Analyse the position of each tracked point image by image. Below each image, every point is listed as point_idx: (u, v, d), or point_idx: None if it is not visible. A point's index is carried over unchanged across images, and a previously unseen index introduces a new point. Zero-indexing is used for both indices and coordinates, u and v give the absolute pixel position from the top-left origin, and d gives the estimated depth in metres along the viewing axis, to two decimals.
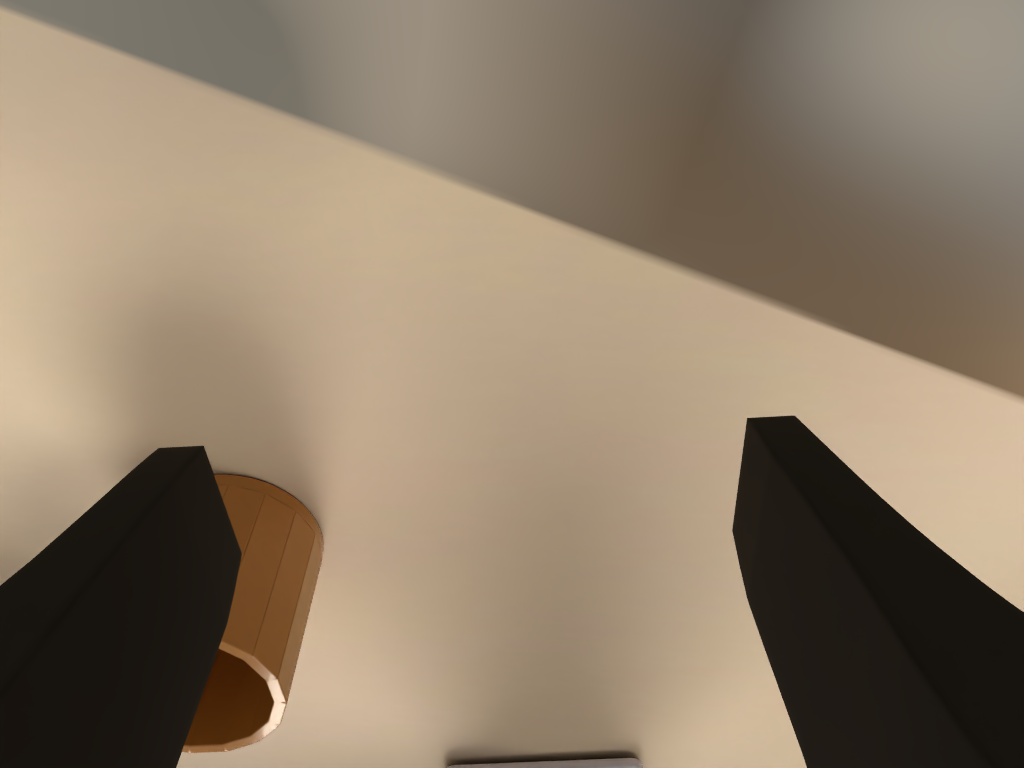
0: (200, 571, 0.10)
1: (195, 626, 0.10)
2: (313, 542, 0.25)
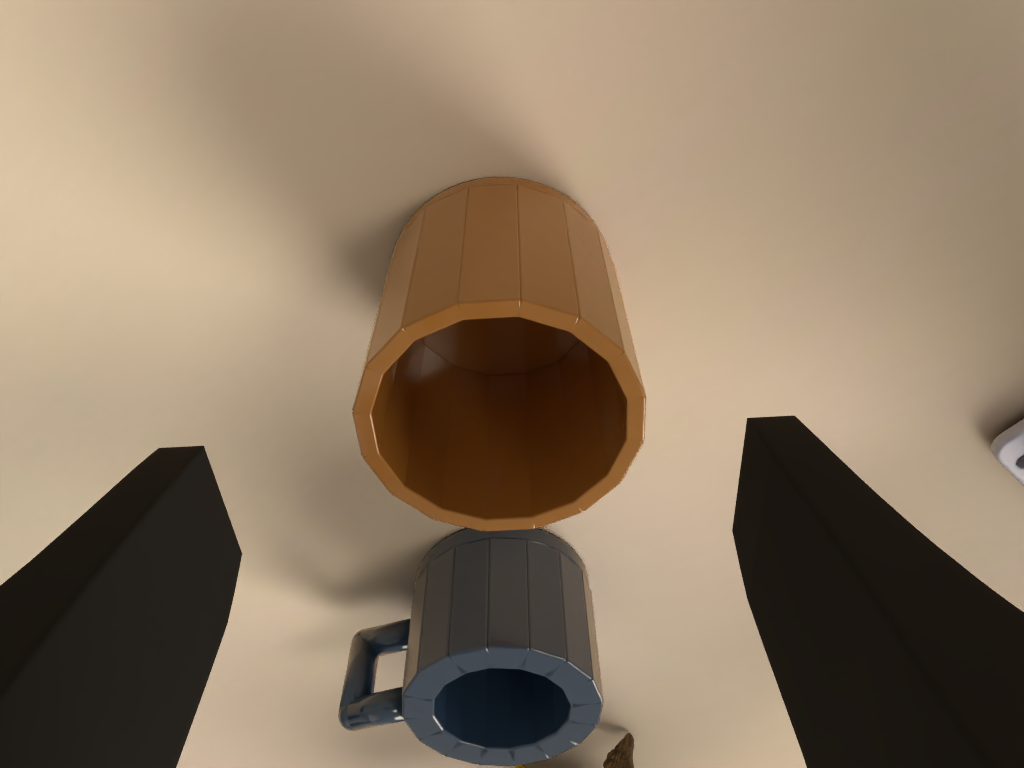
0: (200, 570, 0.10)
1: (195, 626, 0.10)
2: (565, 206, 0.18)
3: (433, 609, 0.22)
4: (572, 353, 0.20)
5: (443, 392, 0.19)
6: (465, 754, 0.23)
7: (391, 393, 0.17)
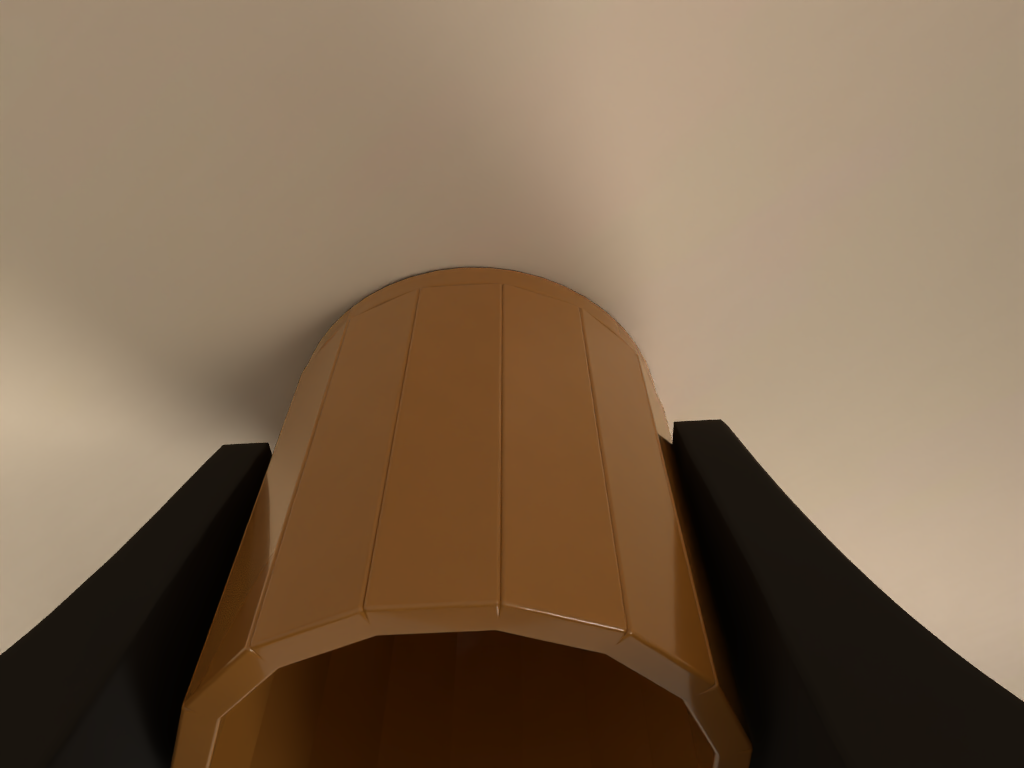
0: None
1: None
2: (585, 322, 0.10)
3: None
4: None
5: None
6: None
7: None
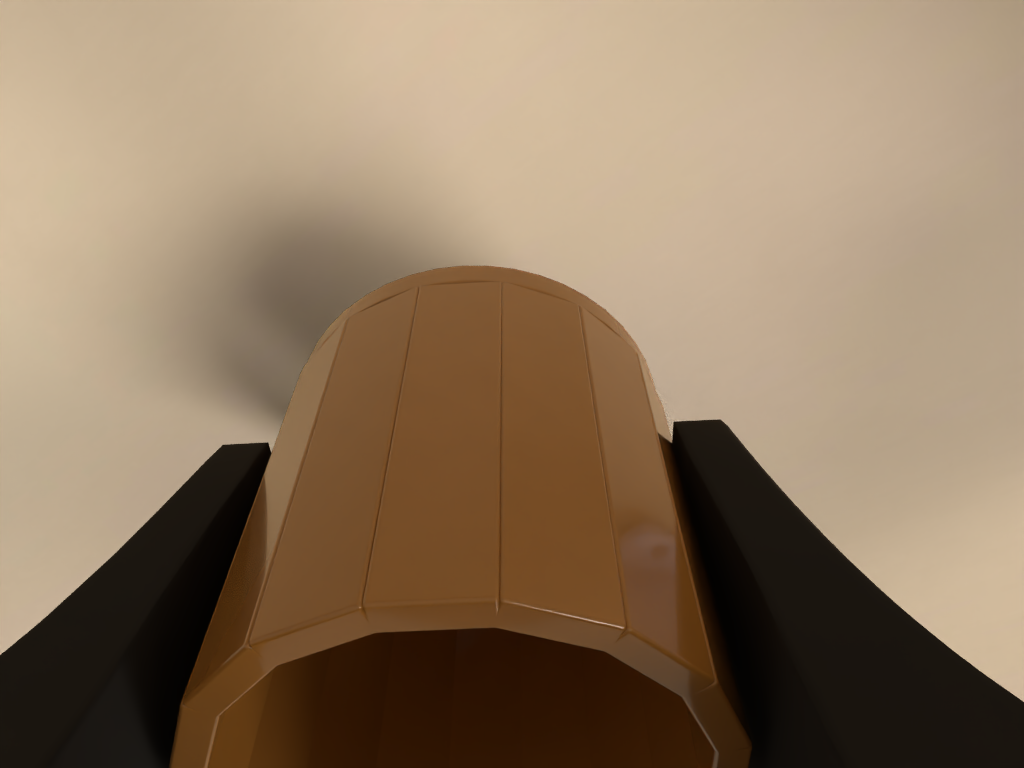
0: None
1: None
2: (584, 319, 0.10)
3: None
4: None
5: None
6: None
7: None
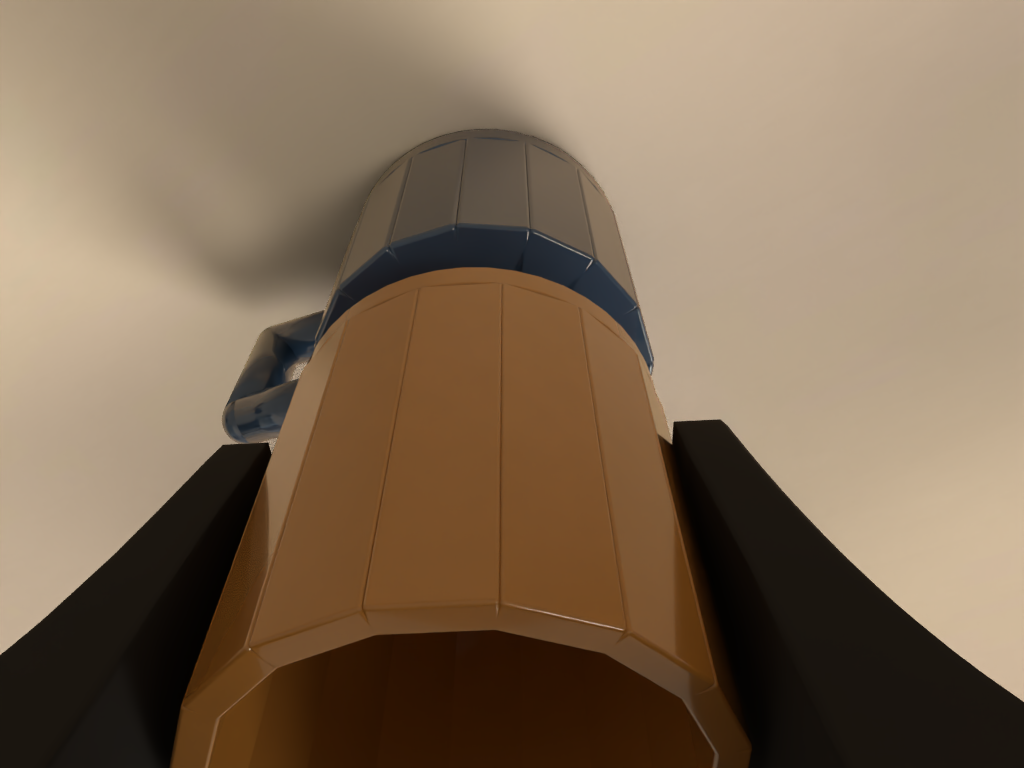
0: None
1: None
2: (584, 321, 0.10)
3: (371, 222, 0.14)
4: None
5: None
6: None
7: None
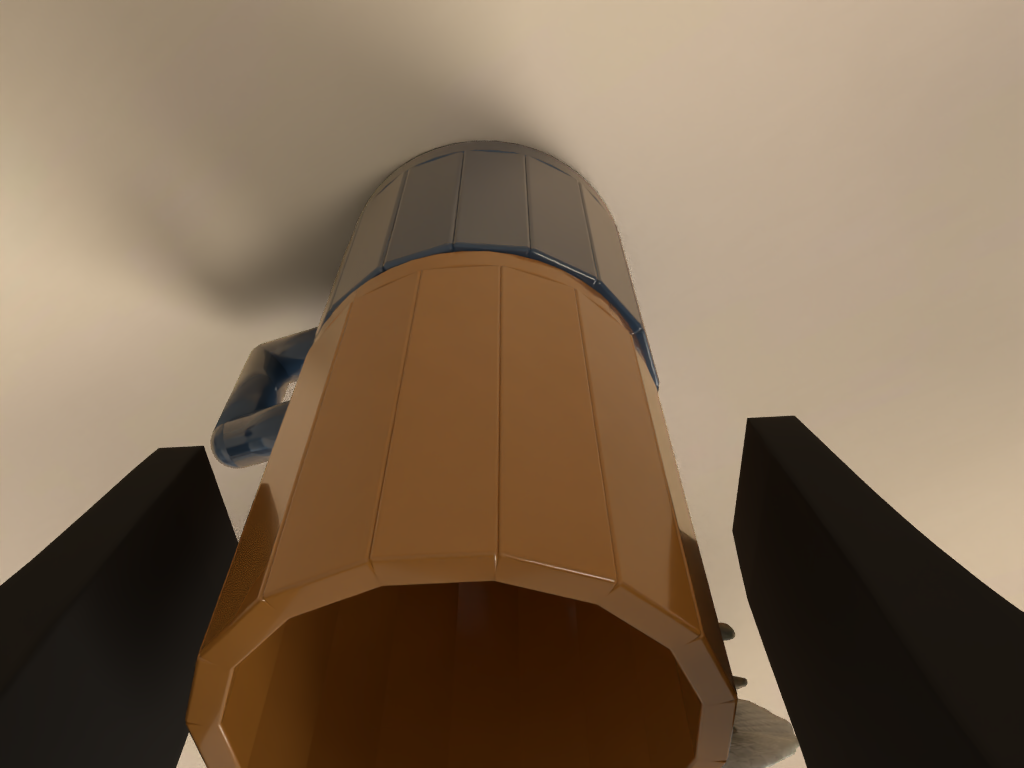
0: (200, 570, 0.10)
1: (195, 626, 0.10)
2: (580, 302, 0.11)
3: (364, 239, 0.13)
4: None
5: None
6: None
7: (286, 624, 0.10)
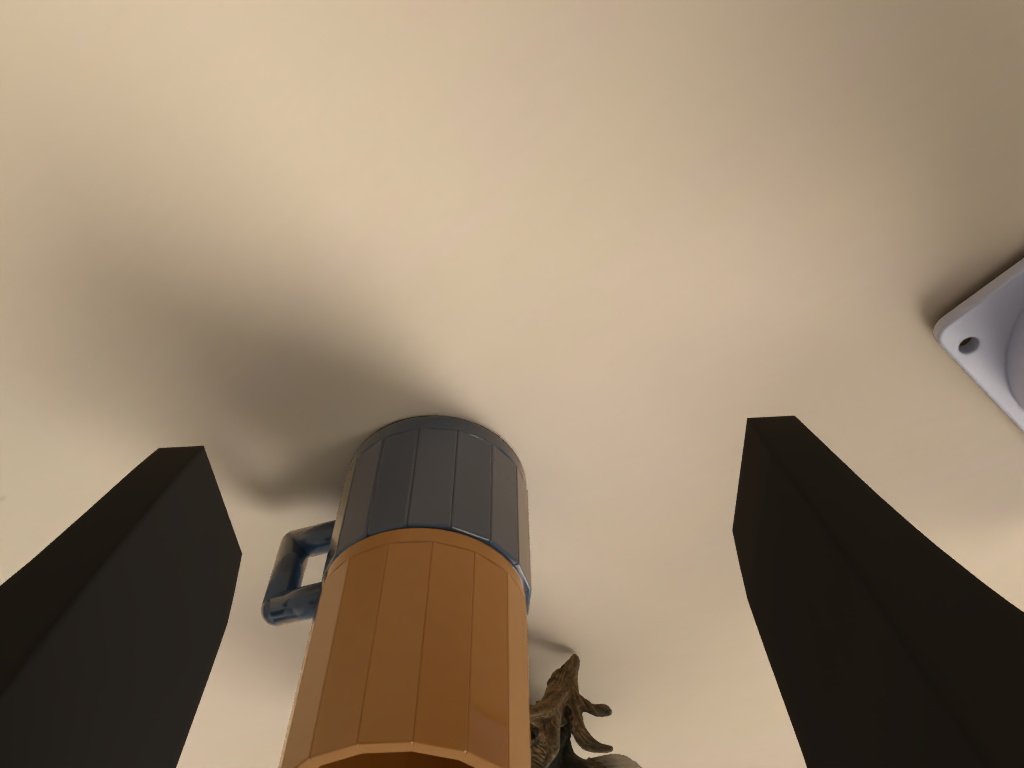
0: (200, 570, 0.10)
1: (195, 626, 0.10)
2: (475, 563, 0.19)
3: (357, 495, 0.22)
4: None
5: None
6: None
7: None
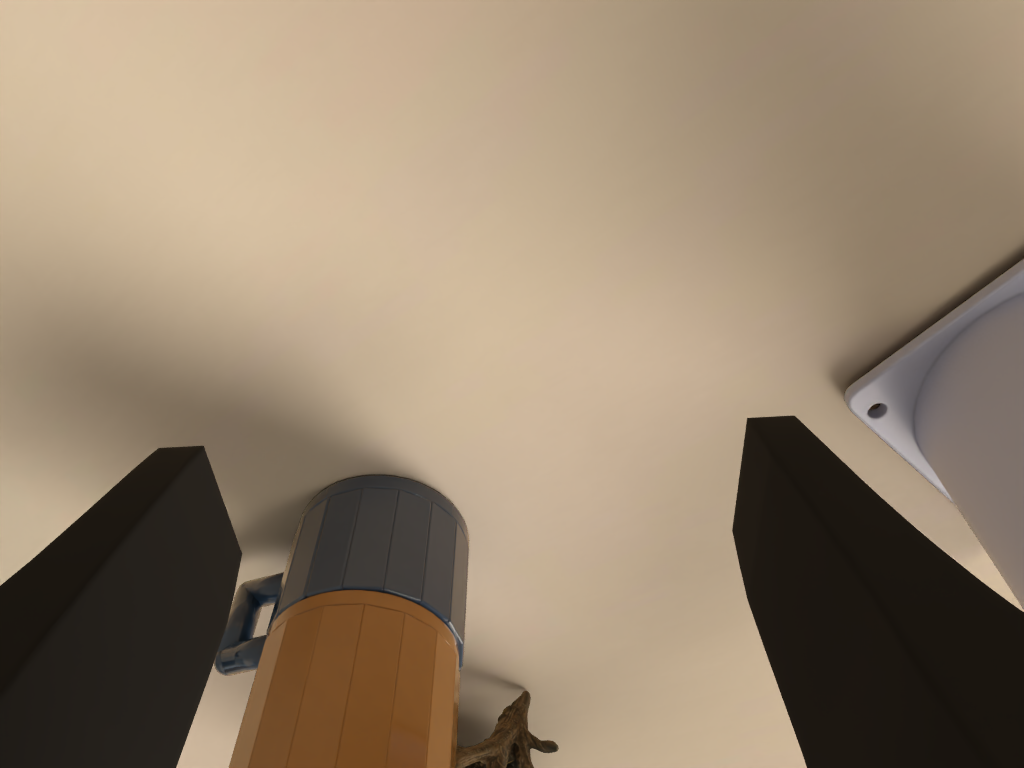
0: (200, 570, 0.10)
1: (195, 626, 0.10)
2: (405, 624, 0.21)
3: (301, 555, 0.23)
4: None
5: None
6: None
7: None
